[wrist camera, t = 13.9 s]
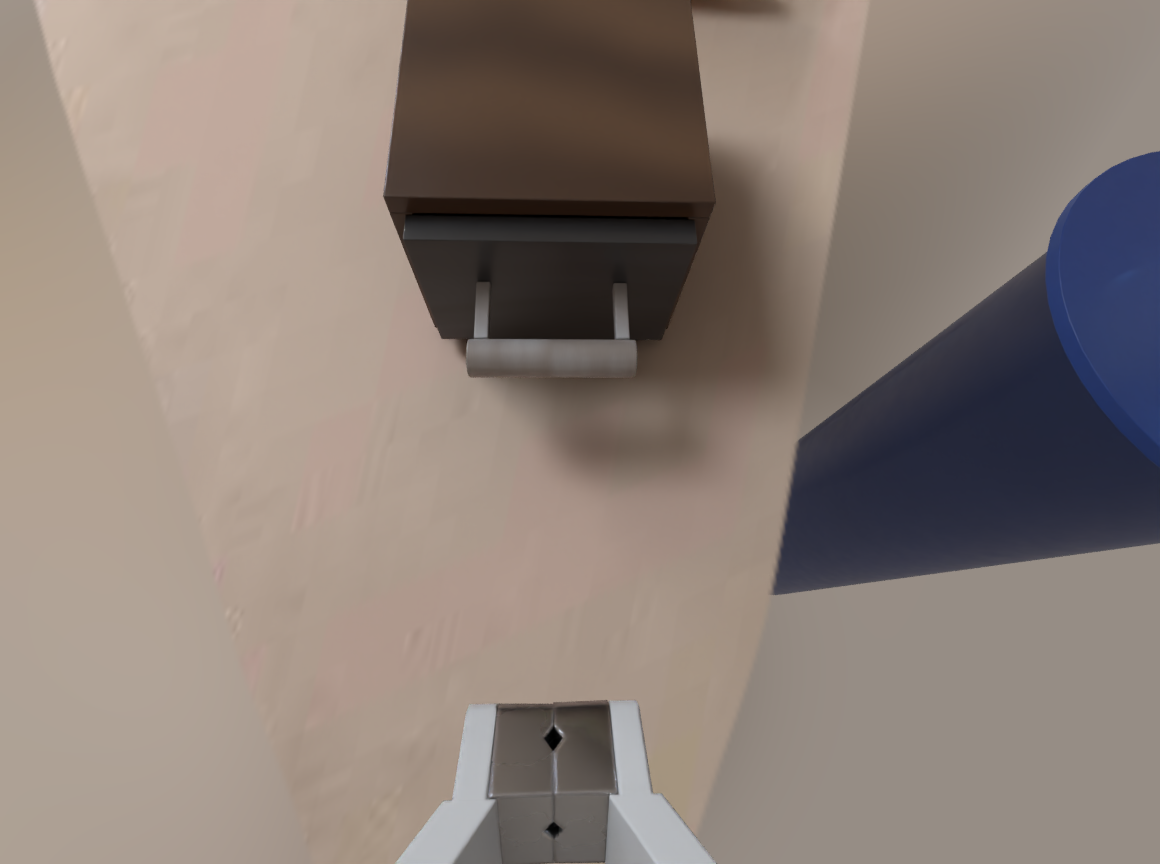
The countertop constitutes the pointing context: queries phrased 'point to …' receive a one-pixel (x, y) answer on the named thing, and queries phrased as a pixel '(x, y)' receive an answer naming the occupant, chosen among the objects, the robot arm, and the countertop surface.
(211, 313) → the countertop surface
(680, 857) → the robot arm
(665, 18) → the cabinet
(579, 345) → the drawer
